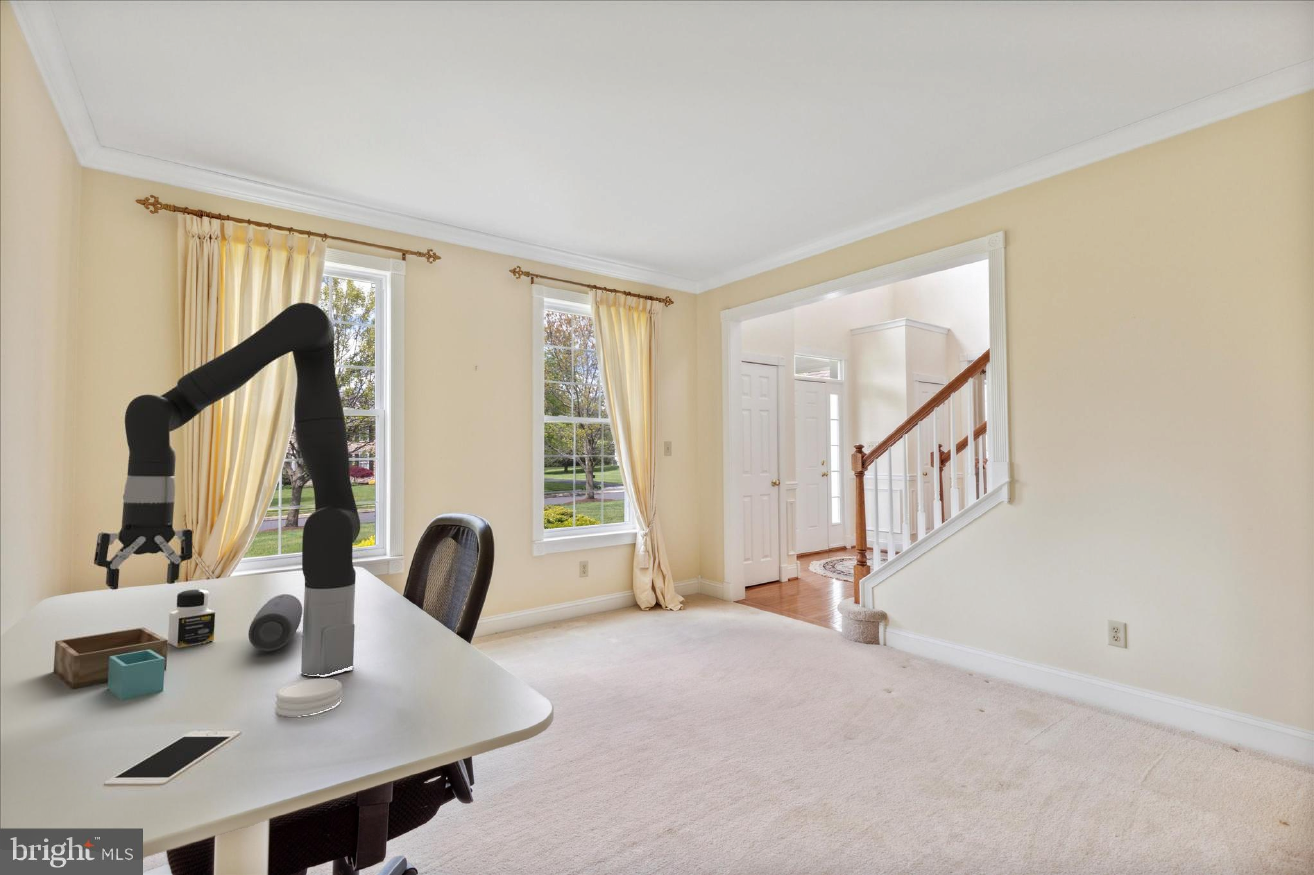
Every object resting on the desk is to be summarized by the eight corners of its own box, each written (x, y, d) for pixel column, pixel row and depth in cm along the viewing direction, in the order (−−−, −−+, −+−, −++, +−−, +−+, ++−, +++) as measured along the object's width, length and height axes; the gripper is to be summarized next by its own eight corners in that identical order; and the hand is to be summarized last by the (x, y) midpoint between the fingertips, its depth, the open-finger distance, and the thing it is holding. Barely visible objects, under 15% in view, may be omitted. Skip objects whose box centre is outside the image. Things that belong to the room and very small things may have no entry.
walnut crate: (166, 670, 125) (167, 639, 125) (72, 689, 114) (74, 656, 114) (142, 655, 135) (143, 627, 135) (53, 671, 123) (55, 640, 124)
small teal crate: (163, 691, 114) (165, 658, 114) (121, 700, 109) (123, 666, 109) (148, 680, 119) (149, 649, 119) (107, 689, 114) (109, 656, 115)
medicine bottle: (177, 648, 140) (180, 594, 141) (167, 642, 144) (170, 590, 145) (214, 641, 146) (216, 590, 146) (203, 636, 150) (206, 586, 151)
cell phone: (242, 735, 96) (242, 730, 96) (163, 787, 80) (163, 782, 80) (190, 735, 96) (191, 730, 96) (101, 788, 80) (101, 783, 80)
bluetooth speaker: (260, 633, 153) (262, 593, 154) (303, 630, 157) (305, 590, 158) (243, 659, 133) (245, 612, 133) (293, 654, 137) (295, 608, 137)
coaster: (266, 721, 101) (267, 699, 101) (285, 699, 111) (286, 679, 111) (334, 715, 104) (335, 694, 104) (347, 695, 113) (347, 675, 113)
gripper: (106, 501, 110) (99, 594, 109) (200, 500, 121) (195, 583, 120) (94, 499, 114) (87, 588, 113) (187, 498, 126) (181, 579, 125)
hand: (143, 586), depth 117 cm, fingers open, 8 cm apart
